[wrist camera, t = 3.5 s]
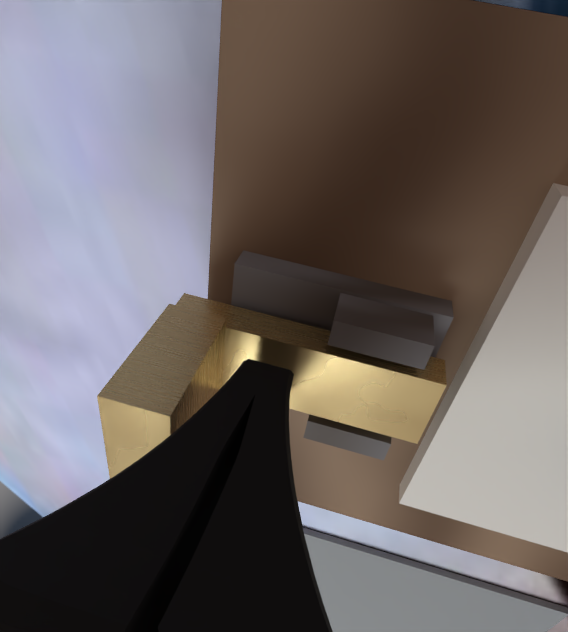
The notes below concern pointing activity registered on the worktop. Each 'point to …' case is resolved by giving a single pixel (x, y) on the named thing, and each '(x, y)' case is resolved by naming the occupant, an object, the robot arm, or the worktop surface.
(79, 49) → the worktop surface
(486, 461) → the cover
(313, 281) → the board
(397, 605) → the mat
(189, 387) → the notched brass block
